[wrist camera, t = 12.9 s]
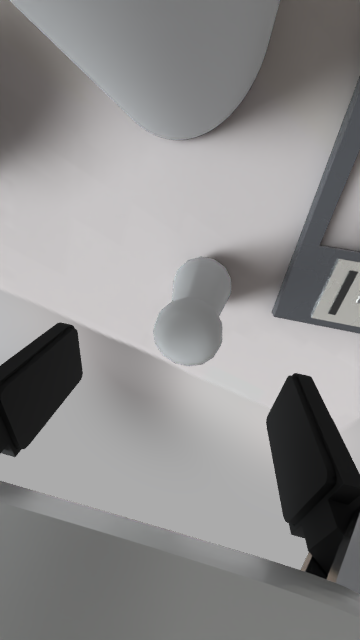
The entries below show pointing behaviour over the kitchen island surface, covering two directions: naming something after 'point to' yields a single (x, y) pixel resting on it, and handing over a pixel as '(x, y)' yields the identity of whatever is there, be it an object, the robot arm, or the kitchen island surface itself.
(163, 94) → the cylinder vase
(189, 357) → the salt shaker
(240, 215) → the kitchen island surface
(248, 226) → the kitchen island surface
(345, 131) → the label board
